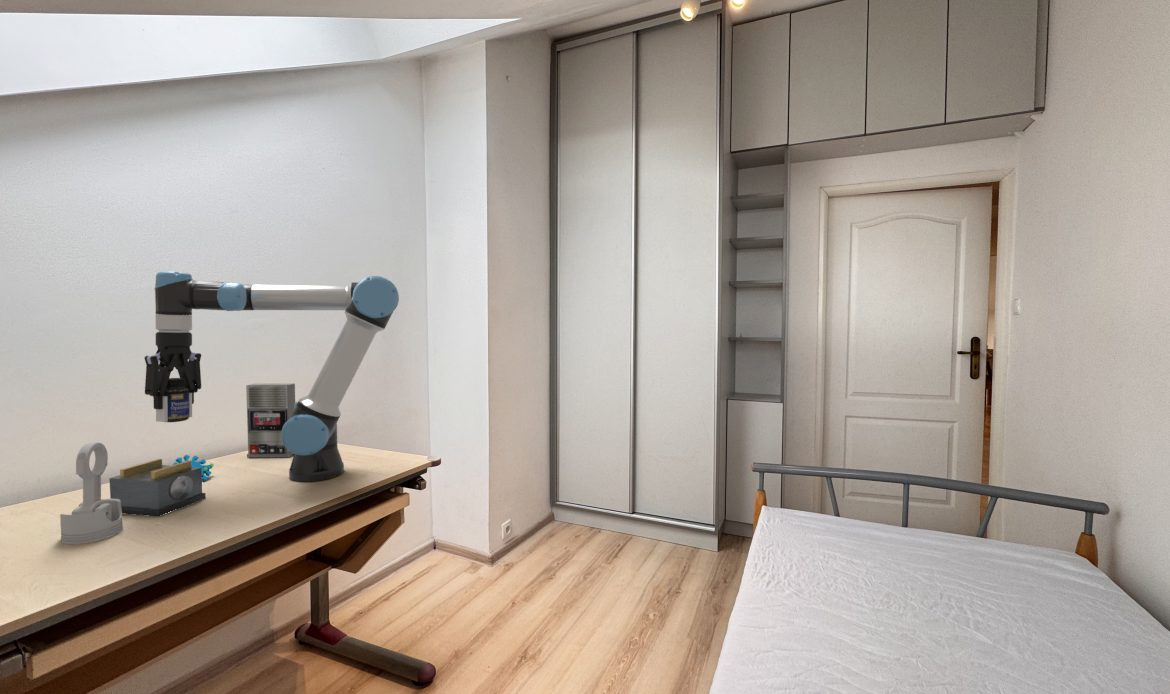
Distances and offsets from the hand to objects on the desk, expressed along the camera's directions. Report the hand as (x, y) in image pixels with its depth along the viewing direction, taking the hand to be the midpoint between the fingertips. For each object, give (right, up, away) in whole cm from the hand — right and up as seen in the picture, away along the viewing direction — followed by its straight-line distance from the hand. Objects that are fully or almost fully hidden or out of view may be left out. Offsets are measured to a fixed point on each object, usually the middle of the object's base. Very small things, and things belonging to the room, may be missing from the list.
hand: (174, 418), depth 138 cm
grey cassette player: (-1, -19, +44) cm, 48 cm away
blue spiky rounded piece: (-7, -21, +16) cm, 27 cm away
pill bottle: (0, -1, 0) cm, 1 cm away
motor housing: (-2, -22, -3) cm, 22 cm away
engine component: (-2, -23, -20) cm, 31 cm away
